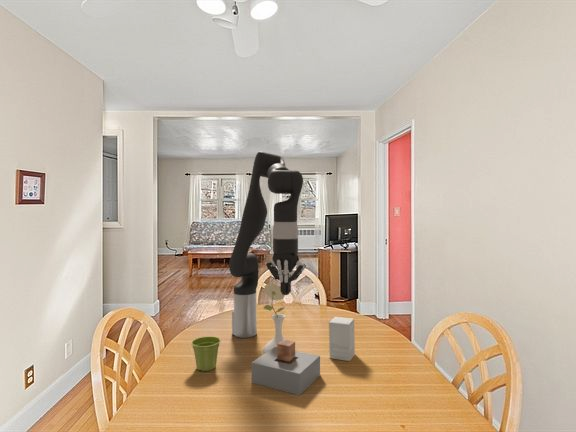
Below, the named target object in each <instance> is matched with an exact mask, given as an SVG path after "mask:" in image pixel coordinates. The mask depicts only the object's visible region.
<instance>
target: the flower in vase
mask: <svg viewBox="0 0 576 432" xmlns="http://www.w3.org/2000/svg"><path fill="white" fill-rule="evenodd" d="M280 288H281V287H280V285H279V286H278V284H277V283H275V284H274V283H273V282H272V283H271V282H270V283H268V284H265V285H264V286H263V293H264V294H265V295H266V297H267V298H269V299H271V305H270V304H265V305H264V306H263V309H264V310H267V311H270V312H271V311H272V310H273V312H274V314H272V315H271V318H272V320H273V322H274V328H275V330H274V333H275V334H274V336H273V338H272V339H270V341H268V342H267V343H266V344H265V345H264V346H263V348H262V353H263V355H264V354H265V353H267V352H268V351H270V350H271V349H273V348H274V347H277V344H278V343H279V342H281V341H282V340H286V339H285V338H284V336H283V332H282V330H283V322H284V320H285V318H286V314H283V313H279V312H281V311H283V310H284V309H285V306H283V307H280V308H278V309H277V310H275V308H274V307H273V303H274V302H273V301H278V302H279V301H281V300H285V295H282V293H281V291H280Z"/></svg>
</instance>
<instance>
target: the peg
mask: <svg viewBox="0 0 576 432" xmlns="http://www.w3.org/2000/svg"><path fill="white" fill-rule="evenodd" d="M295 351H296V341H293V340H290V339H289V340H288V339H285V340H282V341H281V342H279V343H278V344H277V362H282V363H286V364H291V363H293V362H294V361H295V358H296V357H295Z"/></svg>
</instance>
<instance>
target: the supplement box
mask: <svg viewBox="0 0 576 432" xmlns="http://www.w3.org/2000/svg"><path fill="white" fill-rule="evenodd" d="M328 333H329V334H328V336H329V337H328V339H329V343H328V344H329V345H328V347H329V348H328V349H329V359H332V360H333V359H335V360H340V361H346V362H351V360H352V359H353V357H354V356H355V354H356V351H355V344H356V343H355V318H350V317H341V316H334V317H333V318H332V319H331V320H330V321H328Z"/></svg>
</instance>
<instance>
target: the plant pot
mask: <svg viewBox="0 0 576 432" xmlns="http://www.w3.org/2000/svg"><path fill="white" fill-rule="evenodd" d="M221 342H222V340H221V338H220V337H217V336H209V335H208V336H202V337H201V336H200V337H197V338H194V339H192V341H191V342H190V344H191V346H192V349H193V352H194V357H195V358H194V359H195V365H196V370H198V371H202V372H209V371H212V370H214V369H216V367H217V361H218V354H219V353H218V352H219V347H220V343H221Z"/></svg>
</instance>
